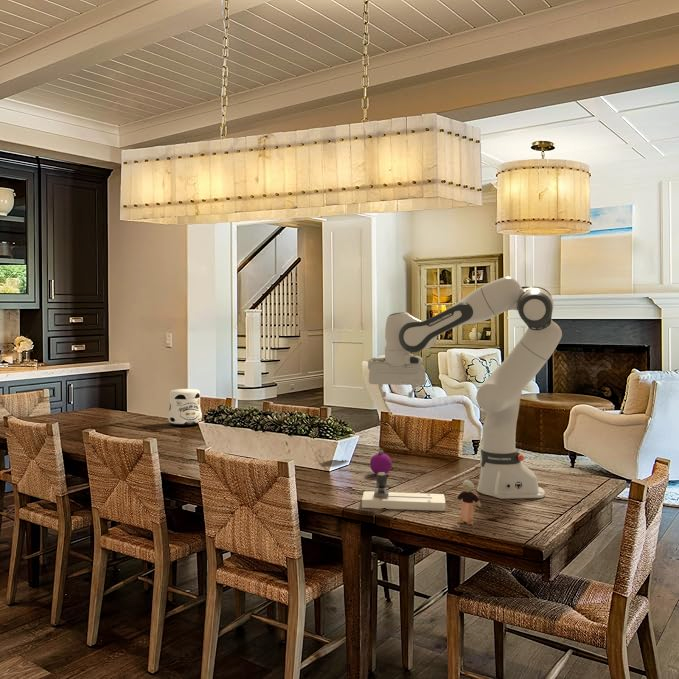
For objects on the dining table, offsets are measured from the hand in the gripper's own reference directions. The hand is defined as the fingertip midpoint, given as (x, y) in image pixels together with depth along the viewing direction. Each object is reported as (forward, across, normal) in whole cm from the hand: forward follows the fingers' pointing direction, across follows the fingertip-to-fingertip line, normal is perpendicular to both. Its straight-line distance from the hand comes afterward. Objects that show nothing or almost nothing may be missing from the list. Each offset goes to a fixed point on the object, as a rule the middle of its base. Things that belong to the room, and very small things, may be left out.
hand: (397, 397), depth 244 cm
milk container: (+31, -113, +106) cm, 158 cm away
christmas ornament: (+31, -6, +13) cm, 34 cm away
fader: (+28, -4, -25) cm, 38 cm away
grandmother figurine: (+31, +22, -41) cm, 56 cm away
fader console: (+31, +3, -25) cm, 40 cm away
